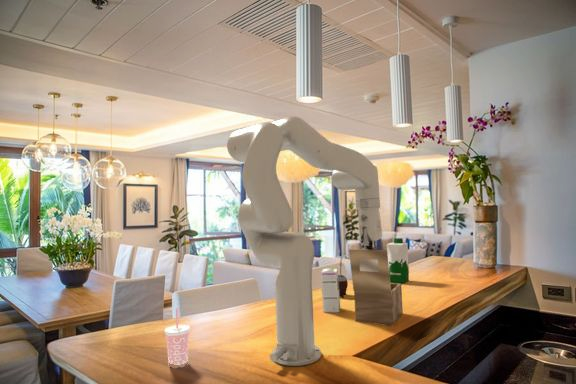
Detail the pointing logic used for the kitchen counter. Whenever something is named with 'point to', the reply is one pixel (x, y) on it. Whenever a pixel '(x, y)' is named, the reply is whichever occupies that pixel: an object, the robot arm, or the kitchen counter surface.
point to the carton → (379, 306)
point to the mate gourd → (342, 282)
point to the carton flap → (370, 270)
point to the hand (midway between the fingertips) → (371, 261)
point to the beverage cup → (177, 342)
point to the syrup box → (330, 290)
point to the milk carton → (398, 261)
